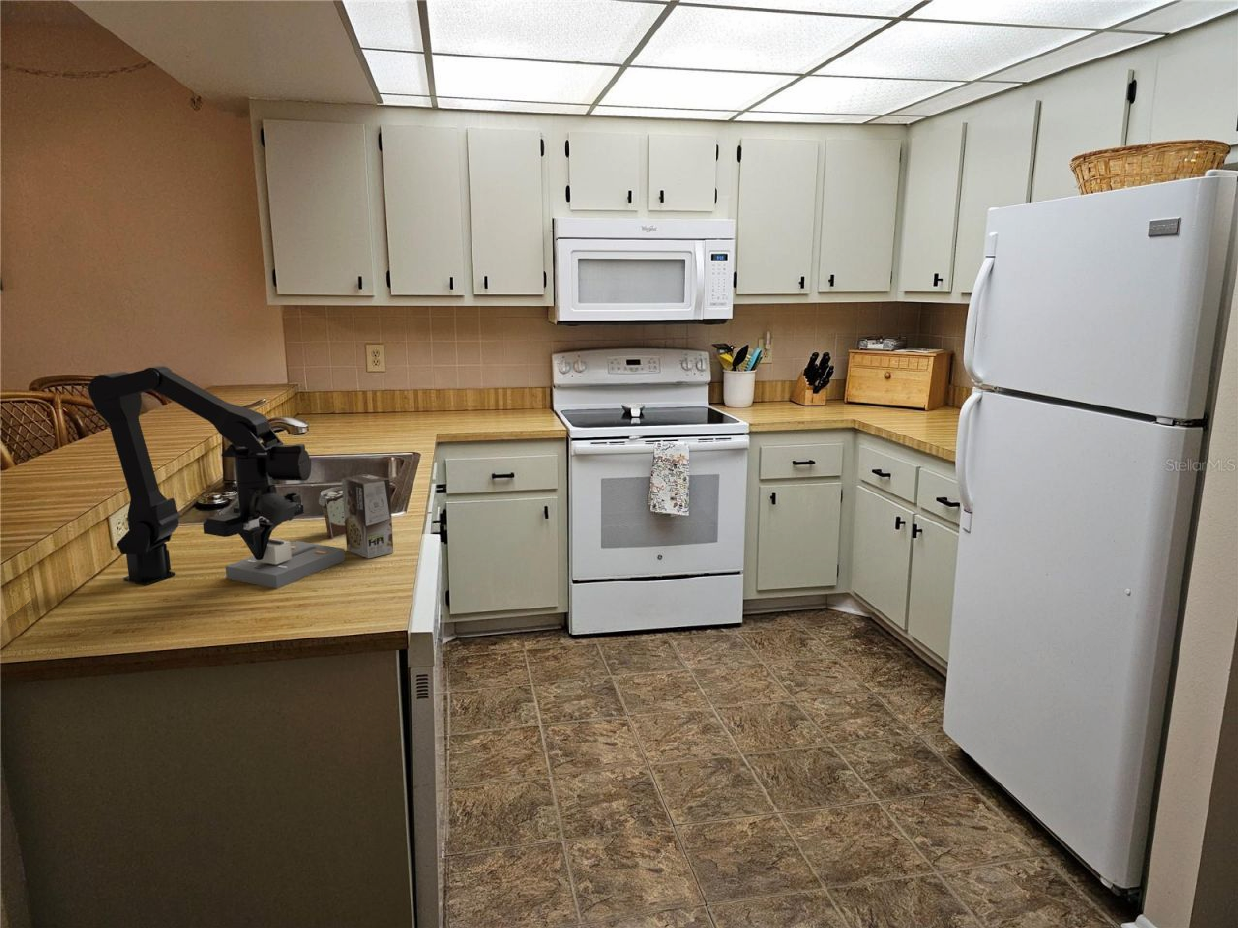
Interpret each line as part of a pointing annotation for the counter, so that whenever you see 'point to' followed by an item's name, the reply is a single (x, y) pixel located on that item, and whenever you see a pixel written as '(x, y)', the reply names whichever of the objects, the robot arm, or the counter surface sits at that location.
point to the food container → (333, 511)
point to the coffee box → (367, 515)
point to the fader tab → (277, 551)
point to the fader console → (286, 565)
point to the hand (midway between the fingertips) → (259, 559)
